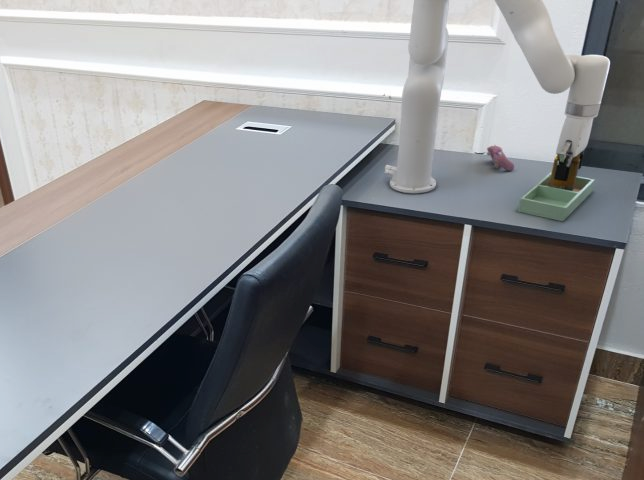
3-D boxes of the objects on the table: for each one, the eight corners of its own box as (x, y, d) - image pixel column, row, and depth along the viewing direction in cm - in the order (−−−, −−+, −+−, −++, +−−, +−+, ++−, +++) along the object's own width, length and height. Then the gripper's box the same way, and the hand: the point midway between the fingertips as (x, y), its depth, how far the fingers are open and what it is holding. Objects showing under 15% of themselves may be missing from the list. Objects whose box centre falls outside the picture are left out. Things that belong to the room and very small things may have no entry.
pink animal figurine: (489, 165, 216) (482, 145, 213) (504, 157, 215) (497, 137, 212) (500, 177, 208) (492, 157, 205) (516, 169, 207) (508, 149, 203)
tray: (517, 211, 185) (520, 198, 183) (548, 183, 198) (551, 171, 196) (563, 221, 179) (566, 208, 177) (591, 192, 192) (595, 179, 190)
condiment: (554, 184, 195) (563, 141, 189) (585, 192, 190) (596, 148, 183) (540, 192, 192) (549, 149, 185) (572, 200, 186) (582, 156, 180)
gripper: (578, 97, 186) (563, 161, 196) (554, 115, 176) (540, 181, 185) (609, 101, 182) (593, 166, 191) (586, 120, 171) (570, 187, 181)
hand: (567, 174), depth 188 cm, fingers open, 9 cm apart
